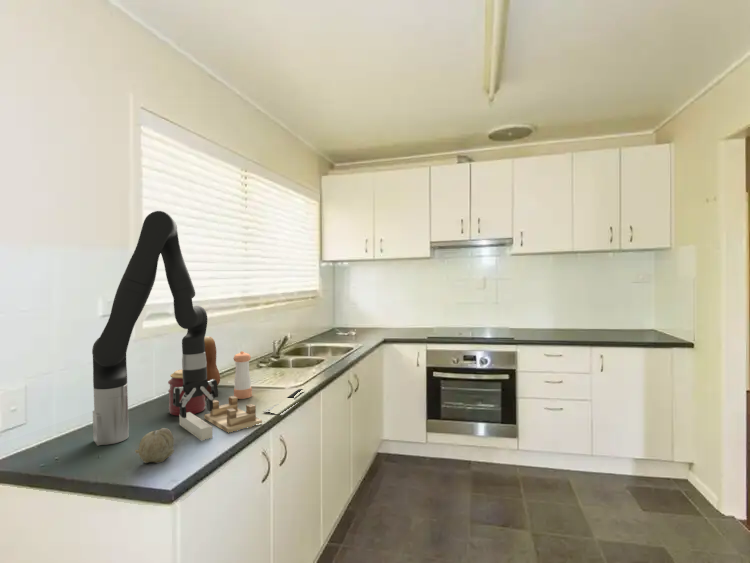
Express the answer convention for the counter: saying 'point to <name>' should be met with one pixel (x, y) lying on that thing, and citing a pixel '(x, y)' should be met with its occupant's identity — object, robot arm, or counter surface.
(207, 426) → the cream white rectangular bar
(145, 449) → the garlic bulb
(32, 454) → the counter surface
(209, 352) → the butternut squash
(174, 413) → the canister
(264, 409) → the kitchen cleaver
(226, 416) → the wooden plate with pegs
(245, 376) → the salt shaker
